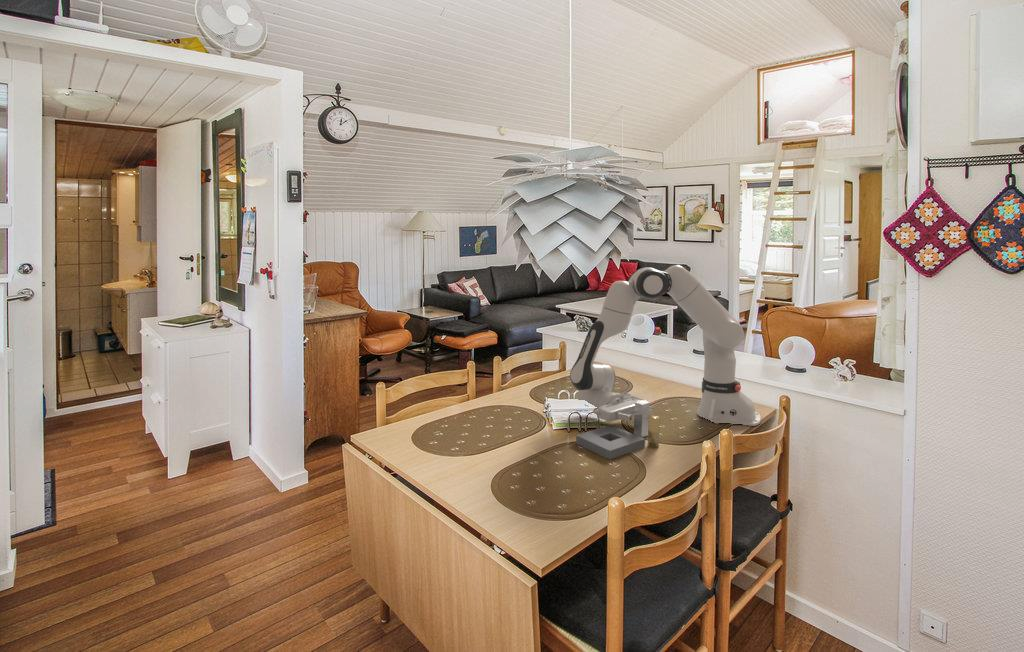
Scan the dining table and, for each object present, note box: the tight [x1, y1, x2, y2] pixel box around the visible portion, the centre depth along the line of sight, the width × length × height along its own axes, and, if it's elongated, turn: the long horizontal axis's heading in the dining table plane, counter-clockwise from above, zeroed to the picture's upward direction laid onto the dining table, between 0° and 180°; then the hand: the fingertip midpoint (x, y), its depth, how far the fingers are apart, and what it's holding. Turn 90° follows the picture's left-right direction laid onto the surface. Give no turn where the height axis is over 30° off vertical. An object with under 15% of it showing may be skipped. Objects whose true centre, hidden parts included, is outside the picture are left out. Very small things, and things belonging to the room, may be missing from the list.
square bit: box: [633, 400, 651, 438], centre depth 197 cm, size 4×4×12 cm
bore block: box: [575, 424, 646, 460], centre depth 189 cm, size 16×16×3 cm
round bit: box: [647, 415, 661, 449], centre depth 188 cm, size 4×4×10 cm
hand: (639, 415), depth 198 cm, fingers open, 8 cm apart
